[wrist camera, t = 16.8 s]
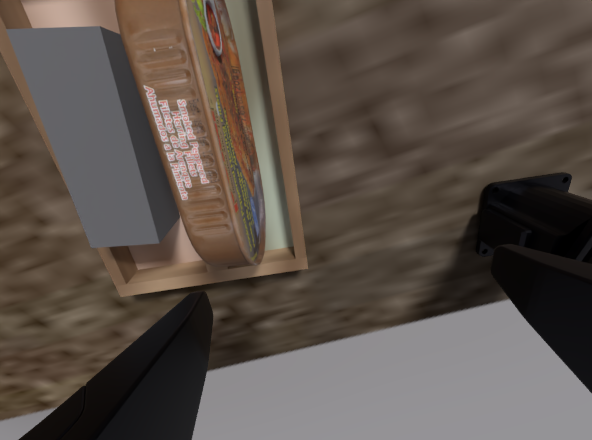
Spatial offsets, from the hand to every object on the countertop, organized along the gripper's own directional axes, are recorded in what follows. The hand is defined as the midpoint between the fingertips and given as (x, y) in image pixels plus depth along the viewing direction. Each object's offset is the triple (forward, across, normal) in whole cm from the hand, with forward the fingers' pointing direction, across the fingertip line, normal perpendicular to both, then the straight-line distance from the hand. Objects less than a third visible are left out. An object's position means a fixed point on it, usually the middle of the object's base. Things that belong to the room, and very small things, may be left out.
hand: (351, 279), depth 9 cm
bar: (+12, +11, -4) cm, 17 cm away
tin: (+13, +5, -4) cm, 14 cm away
